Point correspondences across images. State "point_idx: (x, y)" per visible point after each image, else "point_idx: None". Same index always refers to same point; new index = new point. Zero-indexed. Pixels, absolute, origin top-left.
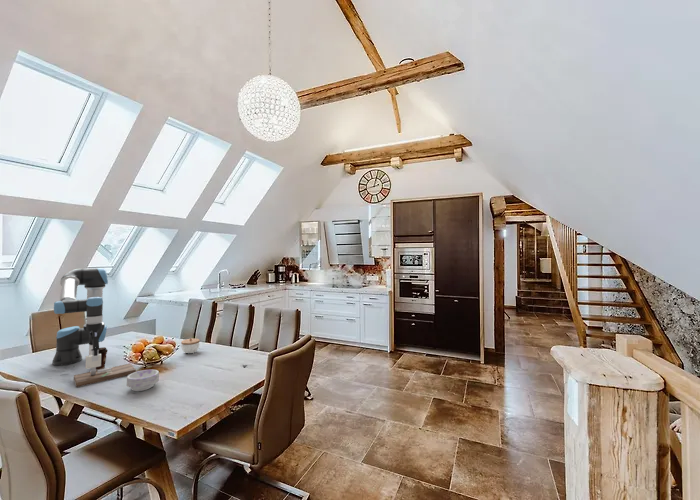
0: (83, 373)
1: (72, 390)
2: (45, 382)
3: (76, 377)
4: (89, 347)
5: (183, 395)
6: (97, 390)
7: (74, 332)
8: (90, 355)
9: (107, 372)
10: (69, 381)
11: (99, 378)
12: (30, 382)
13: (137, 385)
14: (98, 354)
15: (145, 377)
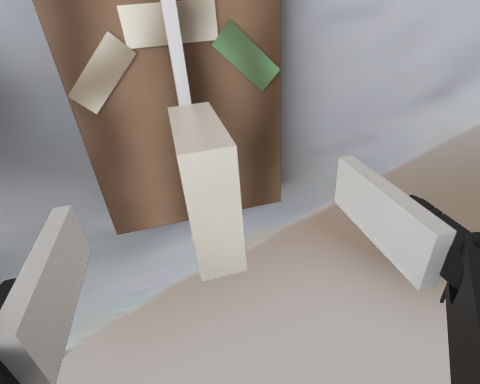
0: (109, 191)
1: (303, 198)
2: (95, 315)
3: (177, 215)
4: (62, 351)
5: None
6: (399, 96)
7: None
8: (196, 248)
9: (199, 36)
10: (146, 231)
11: (278, 92)
12: None
13: None
14: (206, 177)
15: None
